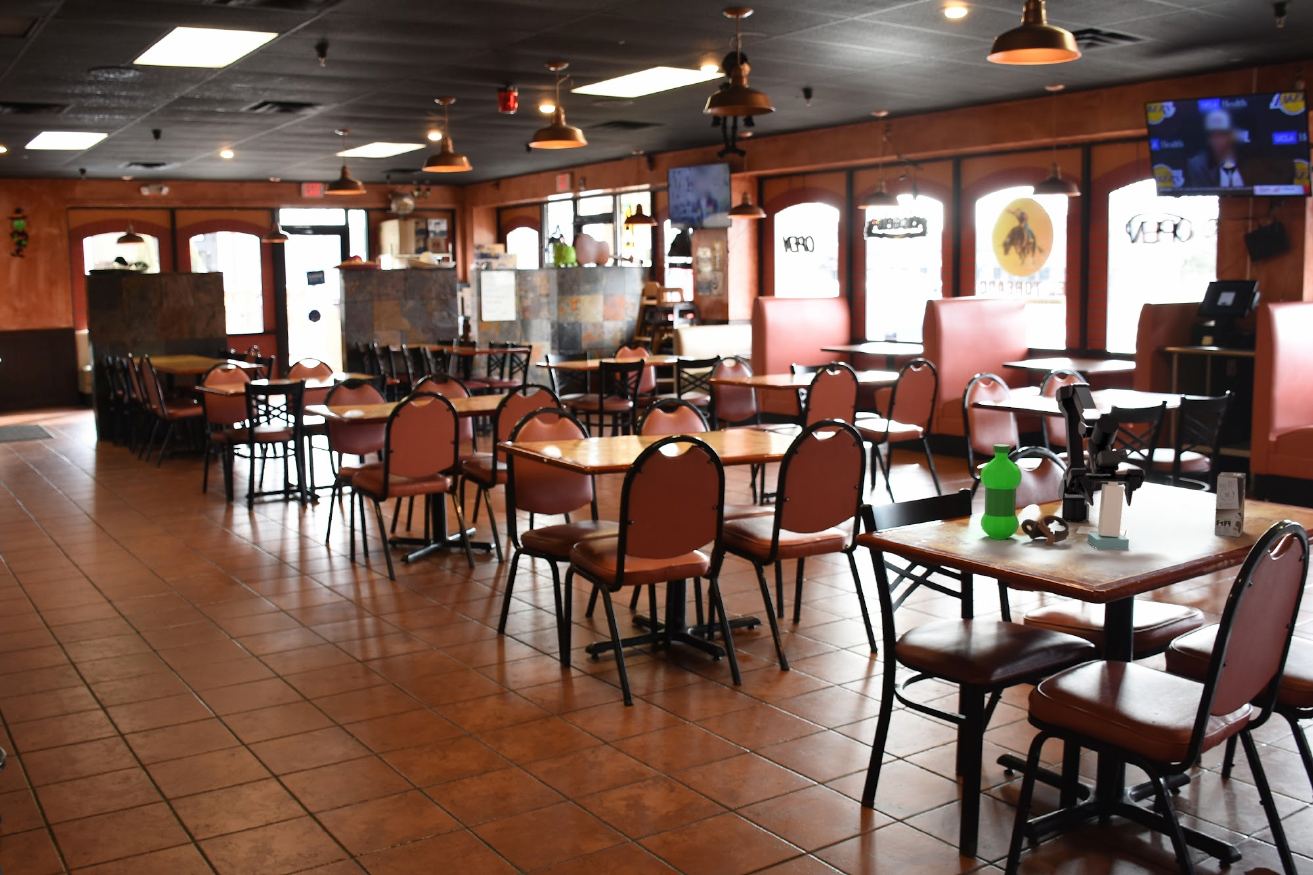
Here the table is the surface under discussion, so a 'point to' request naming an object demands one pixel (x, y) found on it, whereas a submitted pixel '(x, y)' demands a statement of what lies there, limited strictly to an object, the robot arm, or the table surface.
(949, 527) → the table surface
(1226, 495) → the coffee box
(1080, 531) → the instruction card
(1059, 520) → the brown curved loop piece
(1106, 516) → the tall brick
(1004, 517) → the plastic bottle
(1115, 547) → the base brick
